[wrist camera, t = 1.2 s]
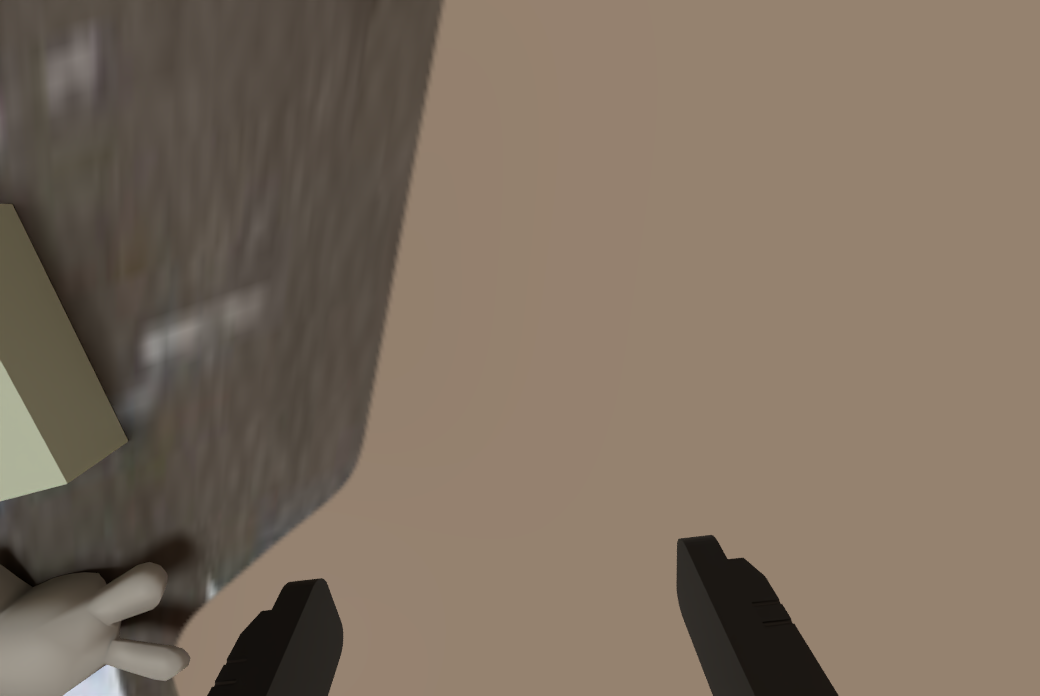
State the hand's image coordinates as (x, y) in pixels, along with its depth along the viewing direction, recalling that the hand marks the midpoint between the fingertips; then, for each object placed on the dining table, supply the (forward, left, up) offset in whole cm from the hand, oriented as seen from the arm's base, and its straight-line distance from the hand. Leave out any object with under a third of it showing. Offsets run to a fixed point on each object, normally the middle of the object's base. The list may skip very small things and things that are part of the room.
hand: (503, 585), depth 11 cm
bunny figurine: (+10, -28, -21) cm, 37 cm away
